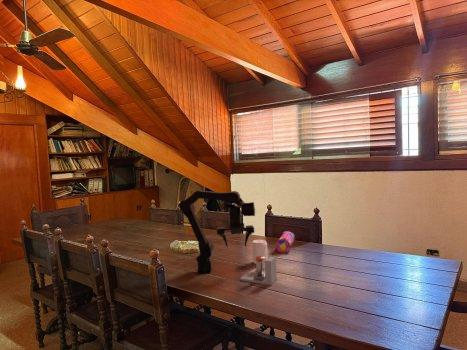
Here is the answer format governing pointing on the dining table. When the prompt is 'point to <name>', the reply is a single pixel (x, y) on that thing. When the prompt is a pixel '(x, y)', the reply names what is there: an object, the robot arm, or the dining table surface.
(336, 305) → the dining table surface
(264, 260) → the knob
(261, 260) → the ball-topped lever
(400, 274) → the dining table surface
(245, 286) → the dining table surface
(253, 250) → the beige cylinder
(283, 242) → the pencil case
